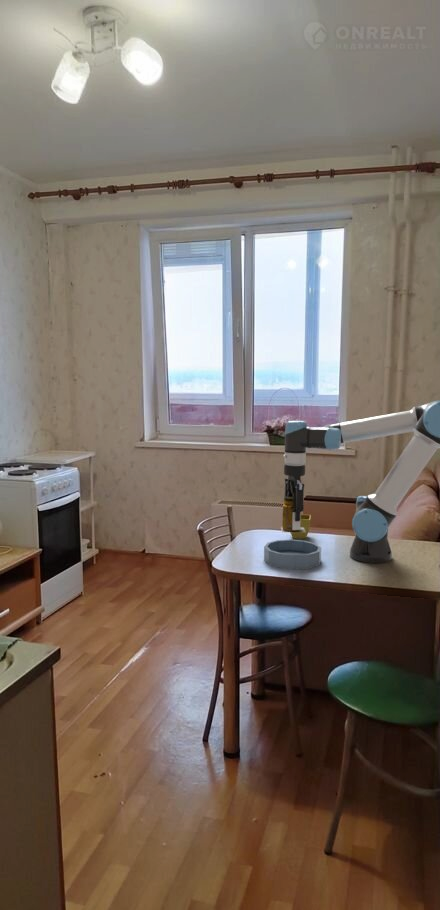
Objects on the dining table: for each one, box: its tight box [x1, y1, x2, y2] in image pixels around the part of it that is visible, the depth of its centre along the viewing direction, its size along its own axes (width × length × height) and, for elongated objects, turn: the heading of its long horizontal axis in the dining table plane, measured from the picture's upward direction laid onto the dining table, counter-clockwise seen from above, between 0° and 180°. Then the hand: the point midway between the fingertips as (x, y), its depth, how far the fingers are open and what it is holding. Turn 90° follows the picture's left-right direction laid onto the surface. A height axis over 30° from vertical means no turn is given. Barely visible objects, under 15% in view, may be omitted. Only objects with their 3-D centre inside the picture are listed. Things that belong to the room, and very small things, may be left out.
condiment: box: [280, 496, 306, 533], centre depth 210 cm, size 7×8×12 cm
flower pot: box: [289, 513, 312, 540], centre depth 244 cm, size 9×9×9 cm
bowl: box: [263, 539, 322, 570], centre depth 212 cm, size 20×20×5 cm
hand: (292, 527), depth 211 cm, fingers closed on condiment, 6 cm apart
